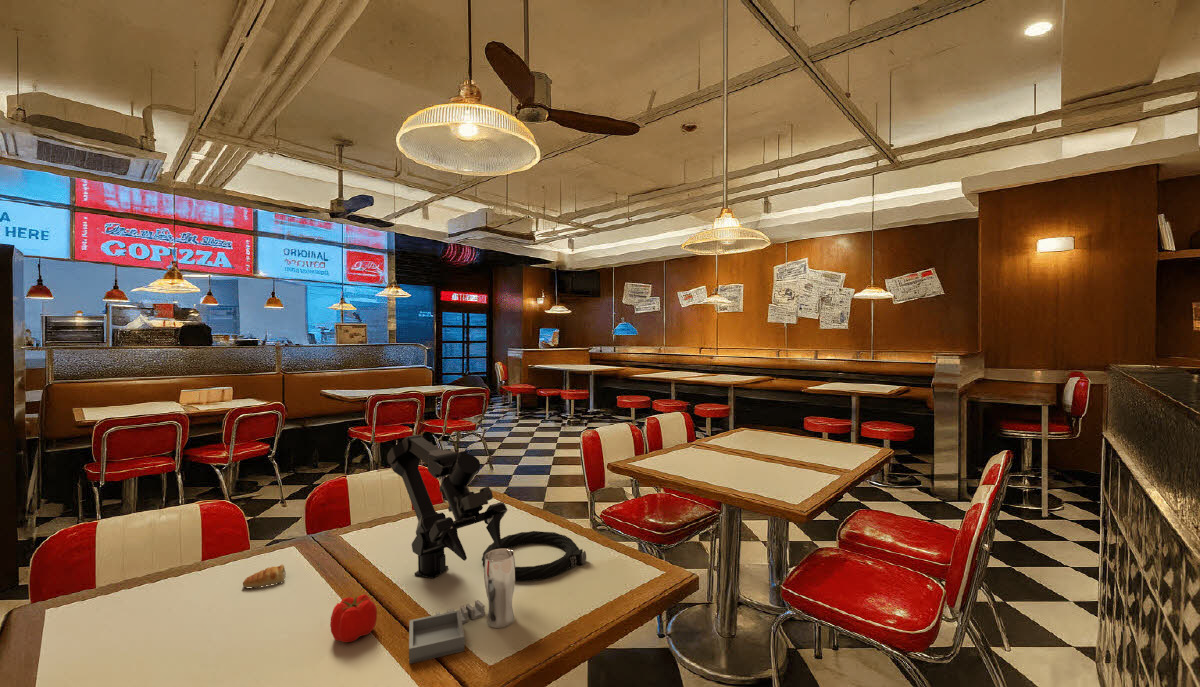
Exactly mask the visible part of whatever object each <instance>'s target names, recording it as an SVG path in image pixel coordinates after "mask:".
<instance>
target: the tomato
mask: <svg viewBox="0 0 1200 687" xmlns="http://www.w3.org/2000/svg"><path fill="white" fill-rule="evenodd" d="M377 616H378V611H377V605H376V604H375V602H373V600H372V601H371V599H370V597H369V596H368V595H367V594H360V595H359V596H357V595H356V596H355V598H354V597H351V596H350V597H345V598H342V599H341V601H339V603H338V602H337V603H336V604H335V606H334V607H333V610H332V613H331V615H330V632H331V634H332V636H333V639H334V640H335V641H336V642H339V641H340V642H342V643H352V642H354V641H356V640H357V639H358V638H359V637H364V636H367V635H369V634H370V633H371V632H372V631H373V629H375V626H376V623H377Z"/></svg>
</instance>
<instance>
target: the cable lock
mask: <svg viewBox="0 0 1200 687" xmlns="http://www.w3.org/2000/svg"><path fill="white" fill-rule="evenodd" d="M527 544H548V545H552V546H557V547H559V548H561V549H562V550H564V551H565V554H563V556H562V557H560V558H557V559H556V560H554V561H551V562H548V563H543V564H539V565H533V566H531V565H529V566H528V565H527V566H517V565H515V569H516V577H515V582H516V581H518V582H528V581H529V582H530V581H531V582H532V581H538V580H539V579H540V580H544V579H548V577H549V578H551V577H555V576H557V575H560V574H562V573H564V572H566V571H567V570H569V569H570V570H571V569H574V567H576V565H577V567H580V566H581V565H583V566H584V565H585V564H586V561H587V553H586V550H584V551H583V548H581V549H580V547H579V546H578V545H577V543H575V542H574V540H572V539H571V538H570V537H569V536H567V535H565V534H560V533H557V532H553V531H552V532H551V531H538V530H537V531H536V530H532V531H524V532H523V531H521V532H517V533H515V534H509V535H506V536H504V537H502V538H501V547H500V548H506V549H510V548H514V547H516V546H521V545H527ZM500 548H498V547H497V546H496V544H495V543H494V542H492V543H490V544H489V545H488V546H487V547H486V549H485V550H484V552H483V553H482V556H481V561H482V566H483V567H484V564H485V554H486V553H487V552H489V551H491V550H494V549H500ZM581 563H582V564H581Z"/></svg>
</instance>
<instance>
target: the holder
mask: <svg viewBox="0 0 1200 687" xmlns="http://www.w3.org/2000/svg"><path fill="white" fill-rule="evenodd" d="M460 612H461V609H458V610H455V611H452V612H448V613H447V612H443V613H440V614H438V615H436V614H433V615H429V616H423V617H419V618H414V619H409V626H408V627H409V629H408V630H409V631H408V633H409V634H408V637H409V638H408V664H409V665H411V664H416V663H419V662H424V661H428V660H432V659H437V658H441V657H445V655H446V656H449V654H450V655H454V653H455V654H458V653H462V652H465V633H464V626H463V624H462V620H461V614H460Z"/></svg>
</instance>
